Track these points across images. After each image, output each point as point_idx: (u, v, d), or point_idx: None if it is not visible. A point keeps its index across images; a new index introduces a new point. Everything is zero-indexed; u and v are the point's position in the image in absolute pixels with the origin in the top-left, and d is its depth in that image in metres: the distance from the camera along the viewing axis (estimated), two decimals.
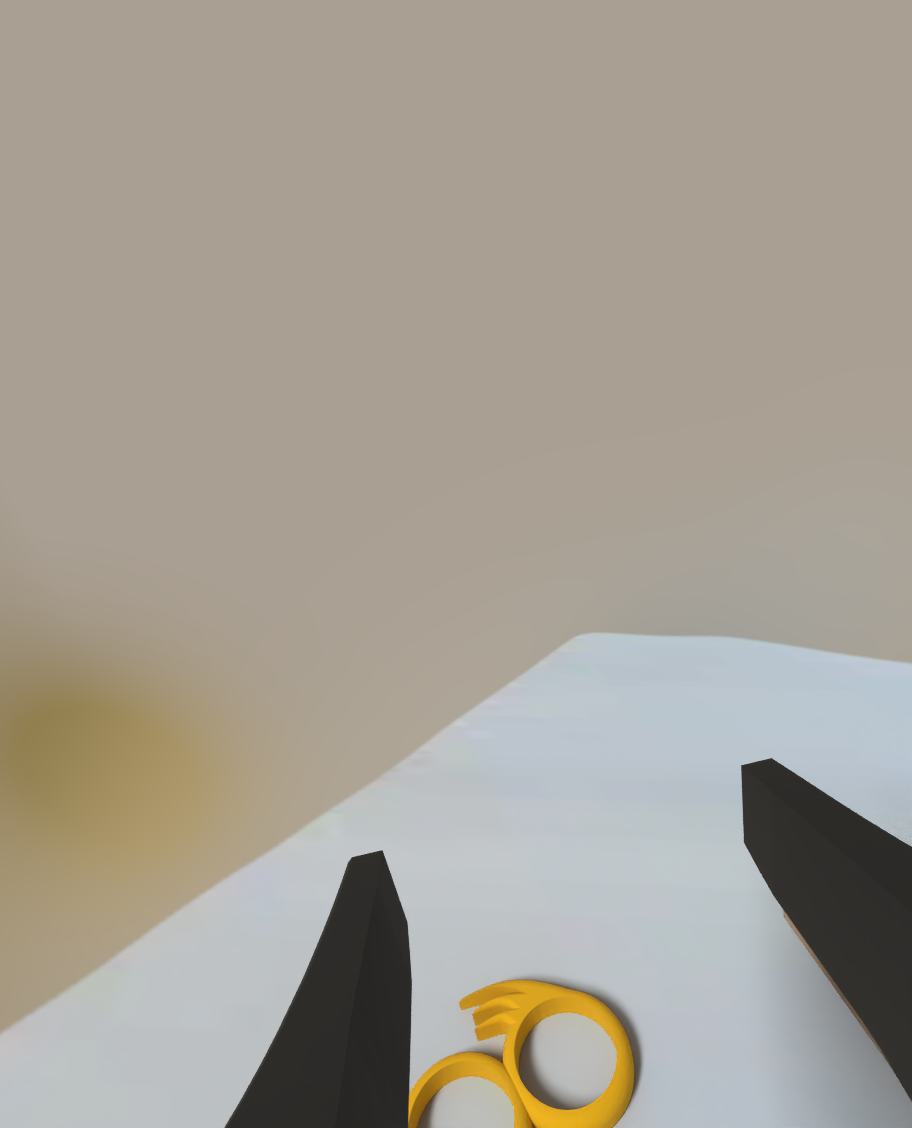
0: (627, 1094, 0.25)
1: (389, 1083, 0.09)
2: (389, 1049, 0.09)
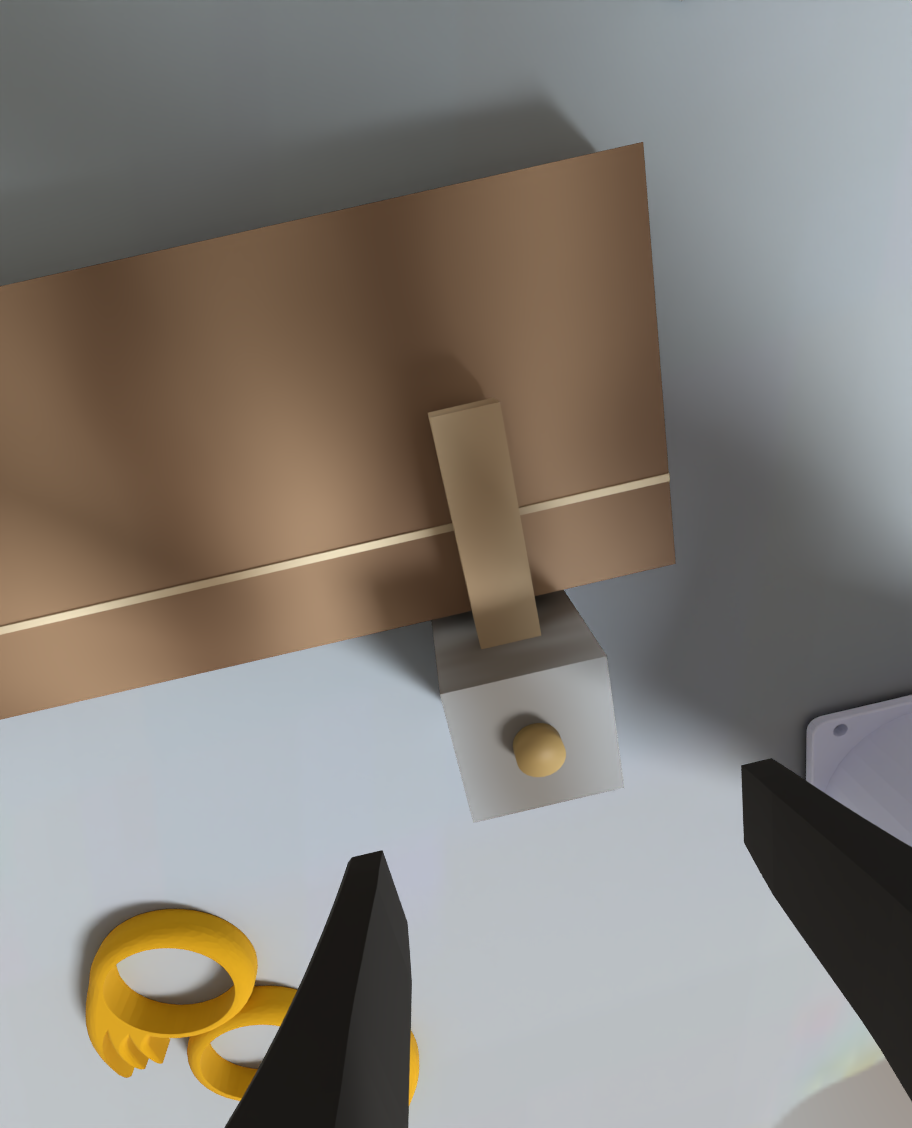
0: (205, 928, 0.22)
1: (389, 1083, 0.09)
2: (389, 1049, 0.09)
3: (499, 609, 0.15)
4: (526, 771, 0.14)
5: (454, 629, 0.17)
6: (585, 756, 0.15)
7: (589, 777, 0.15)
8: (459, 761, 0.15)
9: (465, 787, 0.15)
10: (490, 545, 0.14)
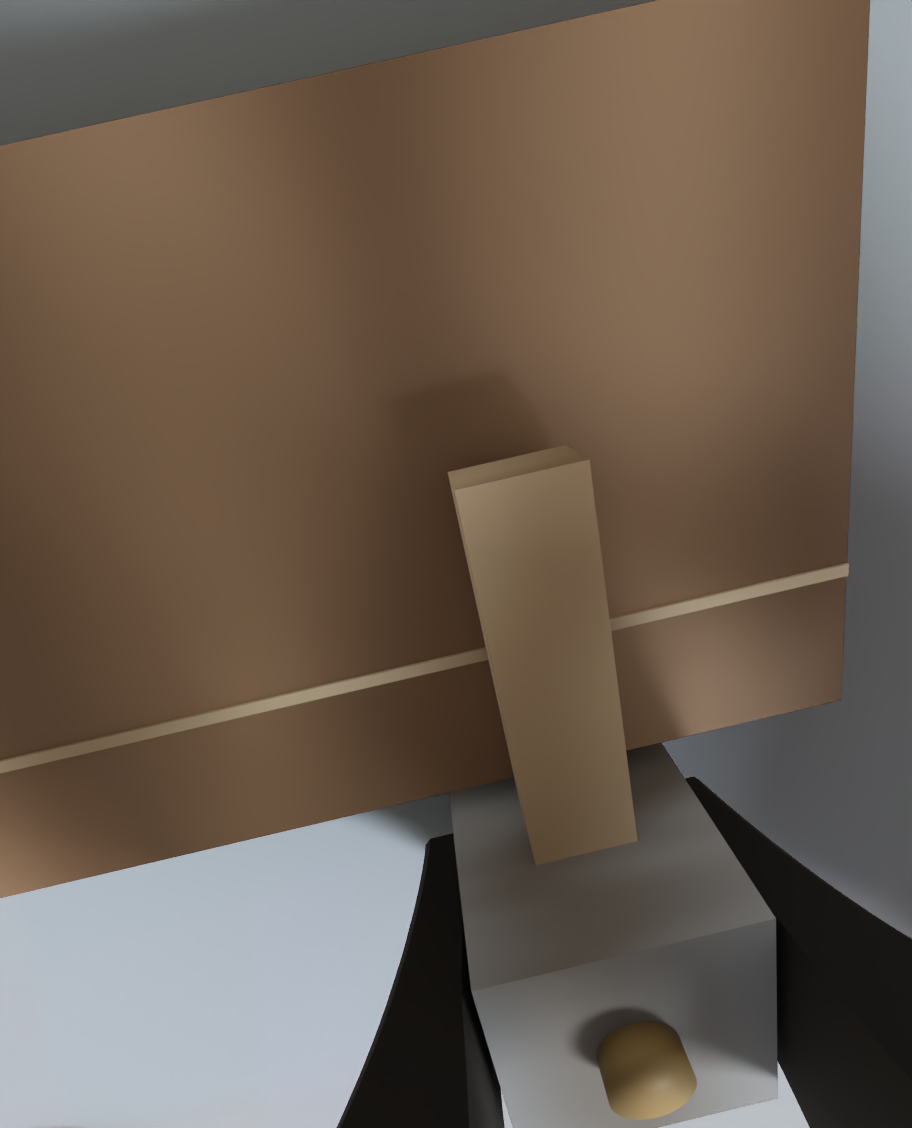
0: None
1: (488, 1060, 0.09)
2: None
3: (569, 805, 0.09)
4: (624, 1113, 0.08)
5: (485, 805, 0.10)
6: (719, 1061, 0.09)
7: (722, 1089, 0.09)
8: (502, 1082, 0.08)
9: (511, 1115, 0.09)
10: (559, 706, 0.08)
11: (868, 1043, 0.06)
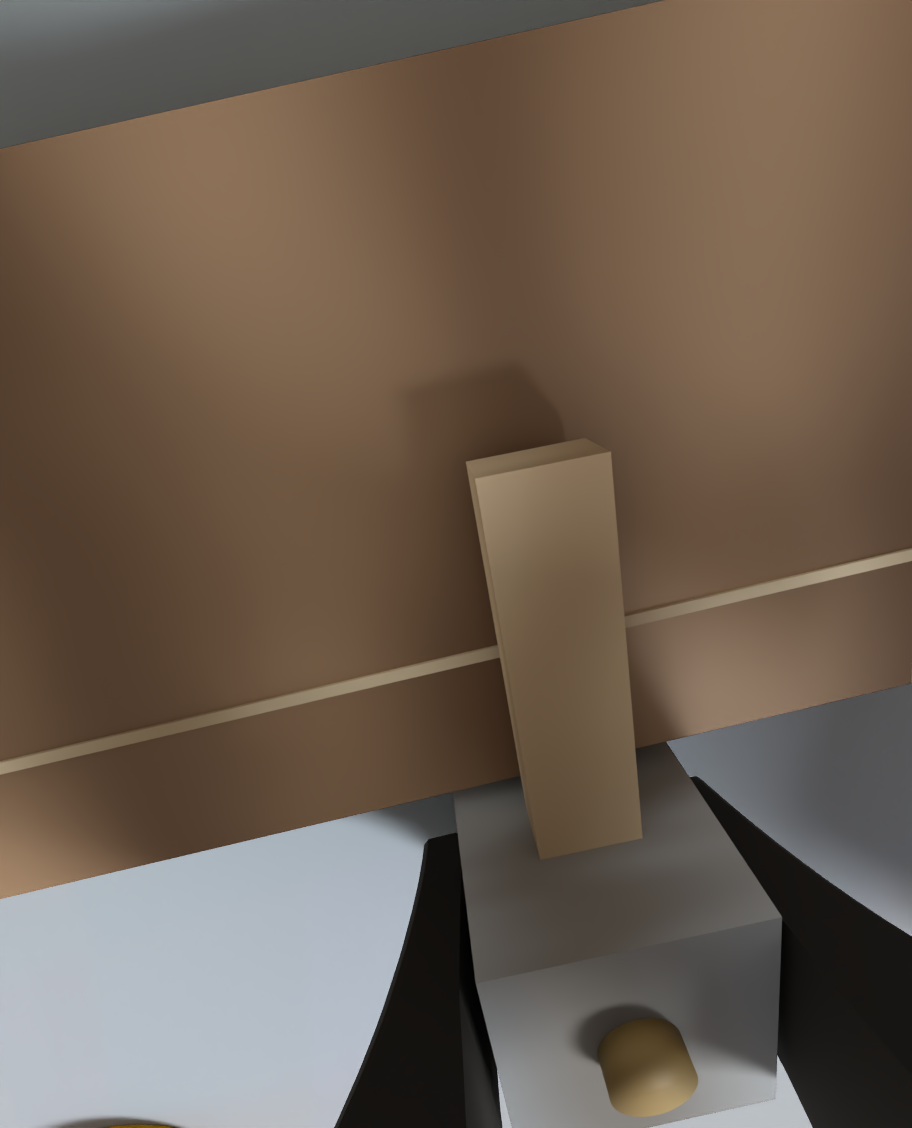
0: None
1: (486, 1060, 0.09)
2: (482, 1027, 0.09)
3: (576, 800, 0.09)
4: (623, 1111, 0.08)
5: (489, 800, 0.10)
6: (719, 1060, 0.09)
7: (721, 1088, 0.09)
8: (502, 1077, 0.08)
9: (509, 1110, 0.09)
10: (570, 700, 0.08)
11: (871, 1042, 0.06)
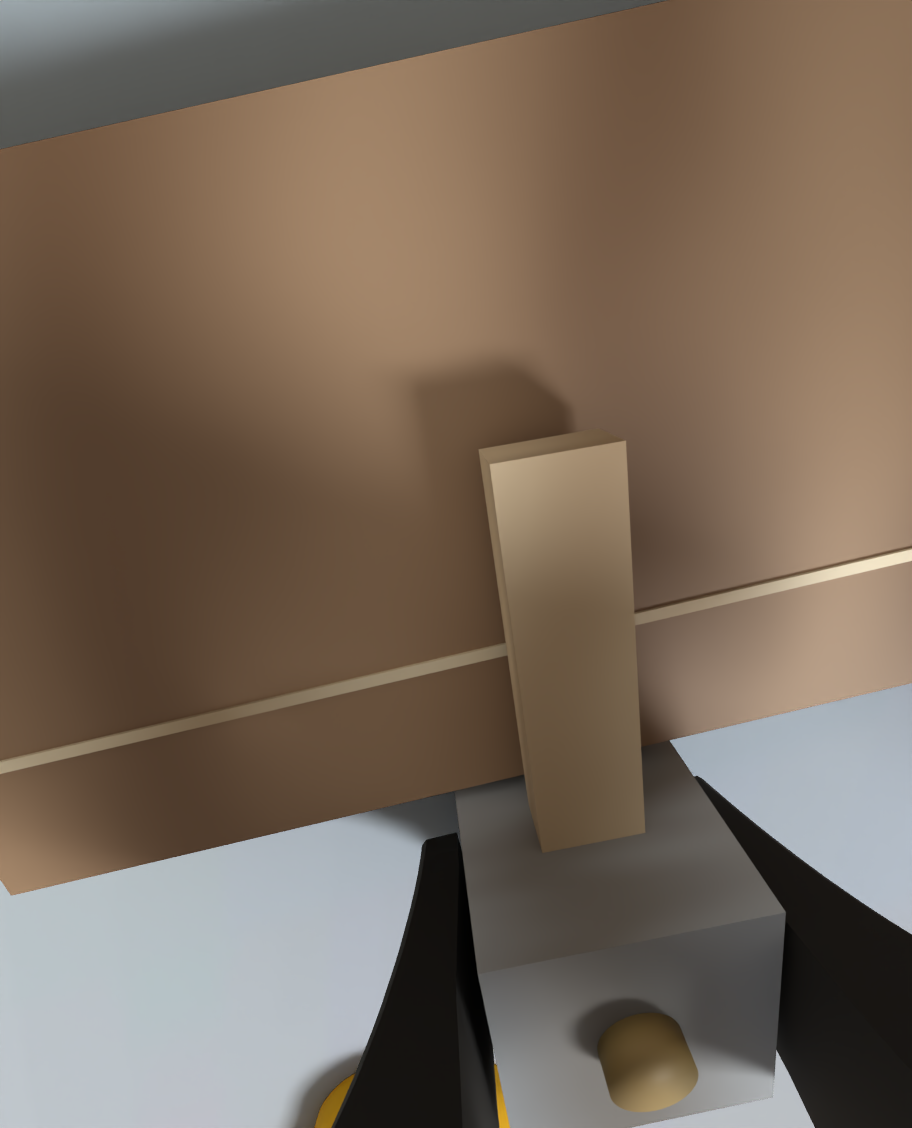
0: None
1: (483, 1061, 0.09)
2: (480, 1027, 0.09)
3: (580, 792, 0.09)
4: (622, 1104, 0.08)
5: (490, 793, 0.10)
6: (718, 1057, 0.09)
7: (719, 1085, 0.09)
8: (501, 1070, 0.08)
9: (507, 1105, 0.08)
10: (577, 691, 0.08)
11: (876, 1043, 0.06)
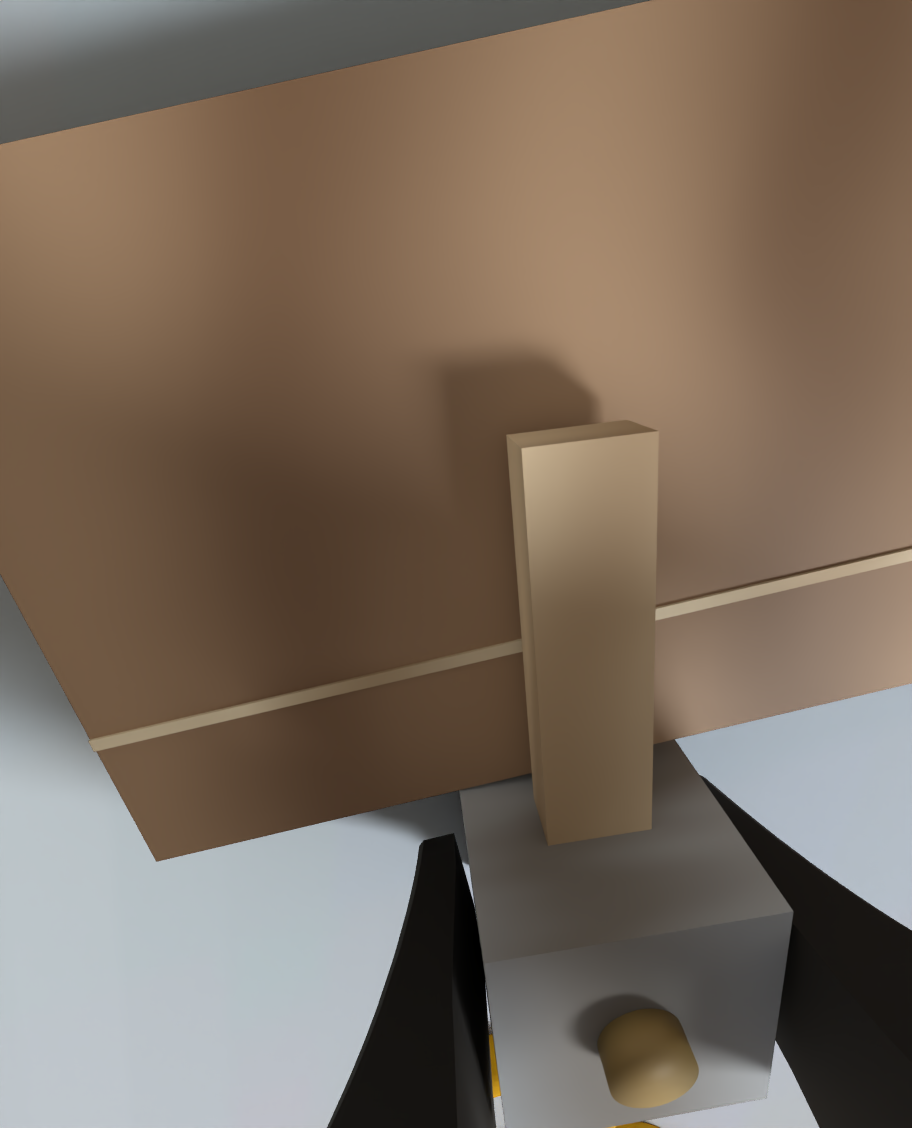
0: None
1: (479, 1061, 0.09)
2: (476, 1028, 0.09)
3: (590, 786, 0.09)
4: (622, 1100, 0.08)
5: (495, 785, 0.10)
6: (716, 1056, 0.09)
7: (715, 1084, 0.09)
8: (500, 1062, 0.08)
9: (503, 1096, 0.08)
10: (593, 683, 0.08)
11: (881, 1041, 0.06)
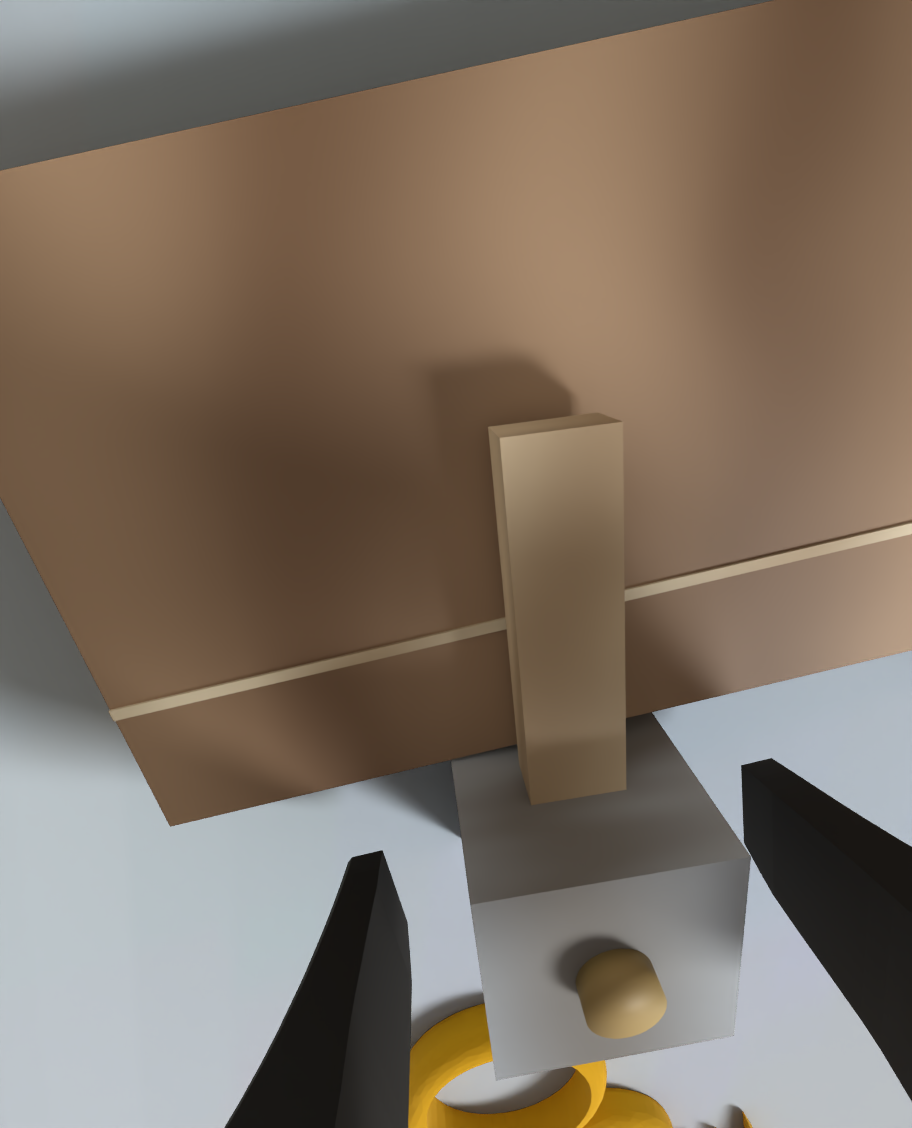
0: None
1: (389, 1083, 0.09)
2: (389, 1049, 0.09)
3: (568, 749, 0.09)
4: (597, 1031, 0.09)
5: (483, 753, 0.11)
6: (685, 994, 0.09)
7: (685, 1022, 0.10)
8: (487, 999, 0.09)
9: (490, 1033, 0.09)
10: (569, 652, 0.09)
11: None
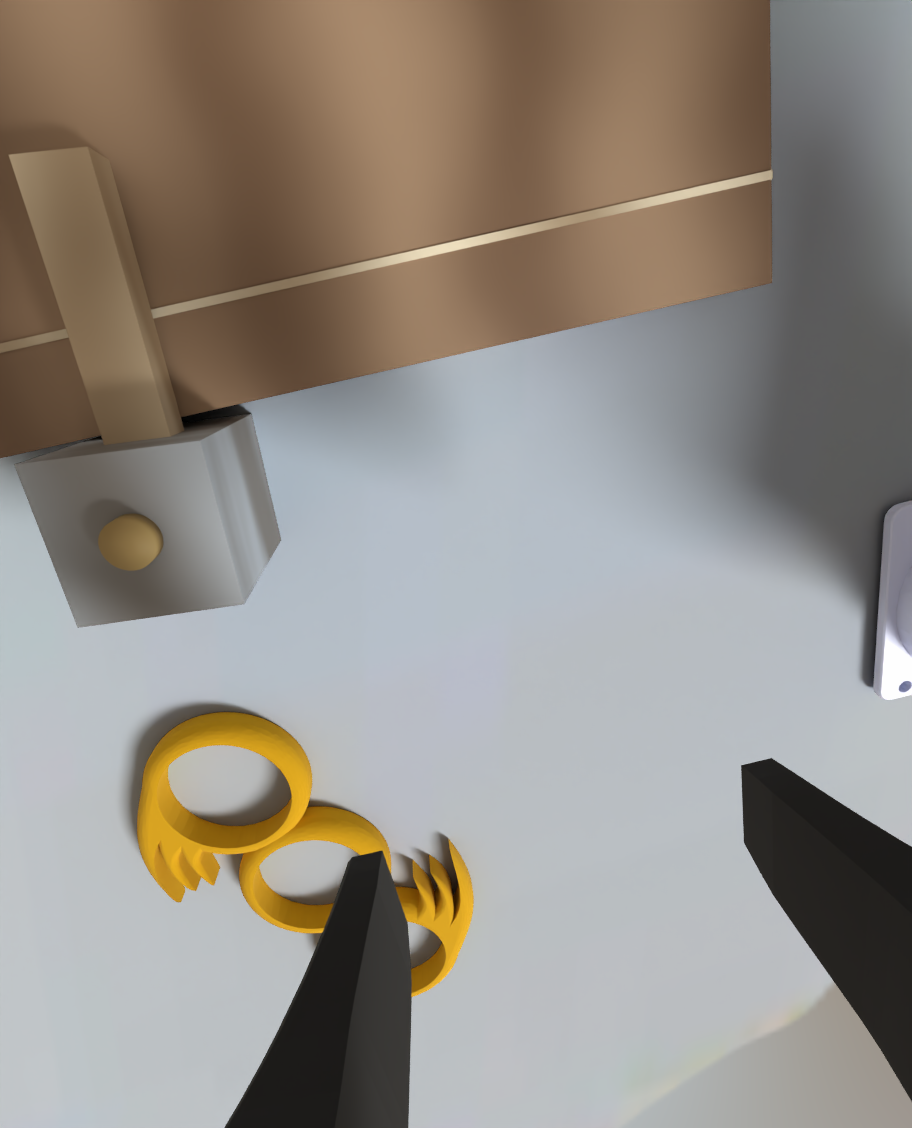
0: (262, 729, 0.21)
1: (389, 1083, 0.09)
2: (389, 1049, 0.09)
3: (119, 399, 0.14)
4: (111, 561, 0.13)
5: None
6: (194, 561, 0.14)
7: (202, 587, 0.14)
8: (49, 550, 0.14)
9: (61, 582, 0.14)
10: (99, 320, 0.13)
11: None
